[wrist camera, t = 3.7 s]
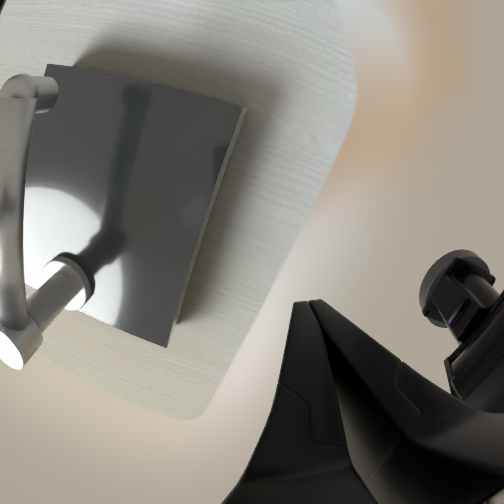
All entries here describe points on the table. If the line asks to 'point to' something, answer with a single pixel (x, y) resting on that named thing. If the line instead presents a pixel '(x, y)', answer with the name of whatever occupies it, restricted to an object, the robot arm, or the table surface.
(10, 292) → the spout
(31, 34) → the table surface
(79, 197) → the tap deck
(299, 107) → the table surface
